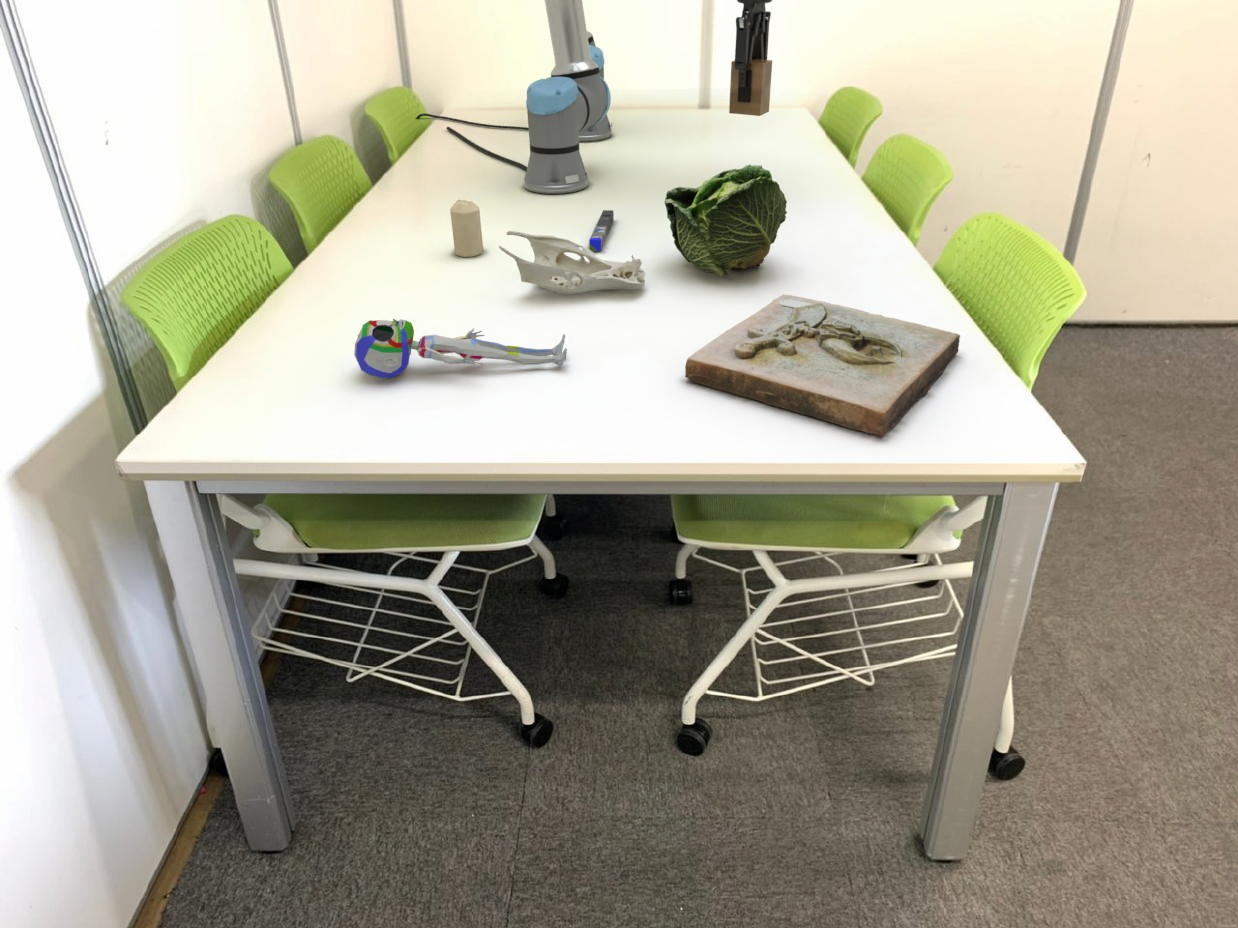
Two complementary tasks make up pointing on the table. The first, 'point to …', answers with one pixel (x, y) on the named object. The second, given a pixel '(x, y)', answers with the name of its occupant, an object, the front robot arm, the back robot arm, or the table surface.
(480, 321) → the table surface
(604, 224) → the blue capped marker
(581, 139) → the back robot arm
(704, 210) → the vegetable
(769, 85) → the block
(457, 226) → the candle
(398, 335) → the toy
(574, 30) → the front robot arm
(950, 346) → the plaque
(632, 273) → the anatomical model
